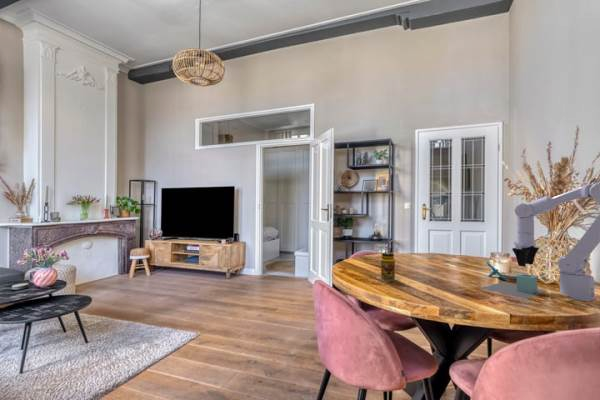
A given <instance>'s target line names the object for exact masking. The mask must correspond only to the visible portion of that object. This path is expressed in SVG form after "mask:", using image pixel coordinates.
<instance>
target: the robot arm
mask: <svg viewBox="0 0 600 400" xmlns="http://www.w3.org/2000/svg"><path fill="white" fill-rule="evenodd" d="M581 198H590V199H591V198H592V199H593V200H594V201H596V202H597V204H598V206H599V207H600V181H597V182H594V183H593V184H592V183H591V184H586V185H583V186H580V187H576V188H574V189H572V190H569V191H566V192H564V193H561V194H558V195H556V196H549V195H540V196H539V198H537V199H534V200H532V201H531V200H528V201H527V202H526V203H520V204H518V205H516V206H515V208H514V214H515V215H516V218H517V219H516V235H517V236H516V238H517V239H516V241H514V242H513V244H515V245H514V246H515V247H512V249H511V250H512V252H513V253H514V255H515V258H516V261H517V266H519V267H526V265H533V264H534V261H535V258H536V255H537V252H538V251H539V250H540V249H539V247H537V246H536V241H535V218H534V217H535V216H536V215H537V216H538V215H540V214H543V213H546V212H550V211H552V210H555V209H556V207H557V206H558V205H561V204H564V203H567V202H570V201H575V200H578V199H581ZM599 244H600V213H599V214H598V215H597V217H596V219H595V220H594V221H593V222H592V223H591V225H590V226H589V227H588V229H587V230H586V231H585V233H583V235H582V236H581V238H579V240H578V241H577V243H576V245H574V247H573V248H572V249H570V250H569V251H568V252H567V253H566V254H565V255H564V256H562V257H560V258H559V259H558V261H557V267H558V268H559V294H562V295H565V296H566V298H568V299H573V300H578V301H581V302H582V301H583V302H586V303H589V302H591V301H593V300H595V299H596V296H595V293H596V292H595V278H594V276H592V275H587V274H586V272H585V269H586V268H587V264H588V260H589V259H590V257H591V254H592V253H593V251H594V250H596V248H597V246H599Z"/></svg>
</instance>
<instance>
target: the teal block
mask: <svg viewBox="0 0 600 400" xmlns="http://www.w3.org/2000/svg"><path fill="white" fill-rule="evenodd" d="M516 285H517V291H521V292H526V293H530V294H533V293H535V292H537V289H538V276H537V275H533V274H527V273H519V274H516Z"/></svg>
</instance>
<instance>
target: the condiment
mask: <svg viewBox="0 0 600 400" xmlns="http://www.w3.org/2000/svg"><path fill="white" fill-rule="evenodd" d="M394 255H395V254H394V253H393V252H382V253H381V260H380V261H381V264H380V265H381V267H380V268H381V269H380V276H377V277H376V276H374V277H375V278H376V279H379V280H381V281H385V282H393V281H398V280H400V279H399V278H396V274H395V273H396V272H395V268H396V267H395V265H396V264H395V259H394V258H395V256H394Z"/></svg>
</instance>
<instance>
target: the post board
mask: <svg viewBox="0 0 600 400" xmlns="http://www.w3.org/2000/svg"><path fill="white" fill-rule="evenodd" d="M480 289H482V290H486V291H490V292H494V293H495V292H496V293H500V294H504V295H508V296H513V297H518V298H522V299H526V300H528V299H531V298H533V297H535V296H538V295H541V294H543V293H545V292H546V290H544V289H540V288H539V289H538V288H537V292H535V293H533V294H530V293H526V292H521V291H517V284H513V283H509V282H508V283H507V282H503V281H500V282H498V283H494V284H491V285H488V286H483V287H480Z"/></svg>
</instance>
